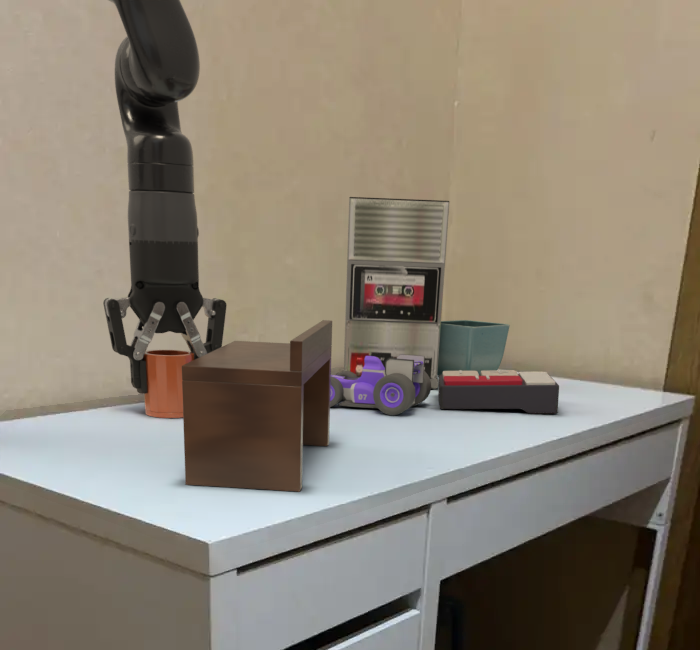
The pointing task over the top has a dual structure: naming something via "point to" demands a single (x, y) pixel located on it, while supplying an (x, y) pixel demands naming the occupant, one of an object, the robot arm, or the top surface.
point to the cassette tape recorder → (395, 280)
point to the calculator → (499, 391)
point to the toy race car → (383, 385)
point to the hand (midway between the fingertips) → (169, 391)
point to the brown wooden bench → (257, 411)
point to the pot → (165, 382)
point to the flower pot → (471, 345)
